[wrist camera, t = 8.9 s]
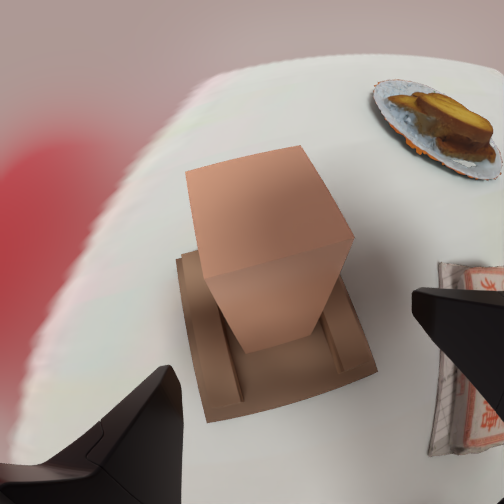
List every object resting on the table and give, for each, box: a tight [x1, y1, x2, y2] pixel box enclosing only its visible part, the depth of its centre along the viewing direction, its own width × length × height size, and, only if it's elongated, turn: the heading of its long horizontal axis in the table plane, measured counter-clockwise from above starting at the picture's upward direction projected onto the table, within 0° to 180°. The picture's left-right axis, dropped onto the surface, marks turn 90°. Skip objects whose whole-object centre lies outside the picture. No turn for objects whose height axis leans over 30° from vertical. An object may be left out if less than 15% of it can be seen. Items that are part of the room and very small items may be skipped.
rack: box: [176, 250, 378, 423], centre depth 21 cm, size 14×13×3 cm
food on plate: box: [373, 80, 503, 180], centre depth 32 cm, size 25×25×7 cm
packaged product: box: [428, 262, 504, 457], centre depth 16 cm, size 18×5×10 cm
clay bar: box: [185, 145, 355, 354], centre depth 15 cm, size 5×5×13 cm
